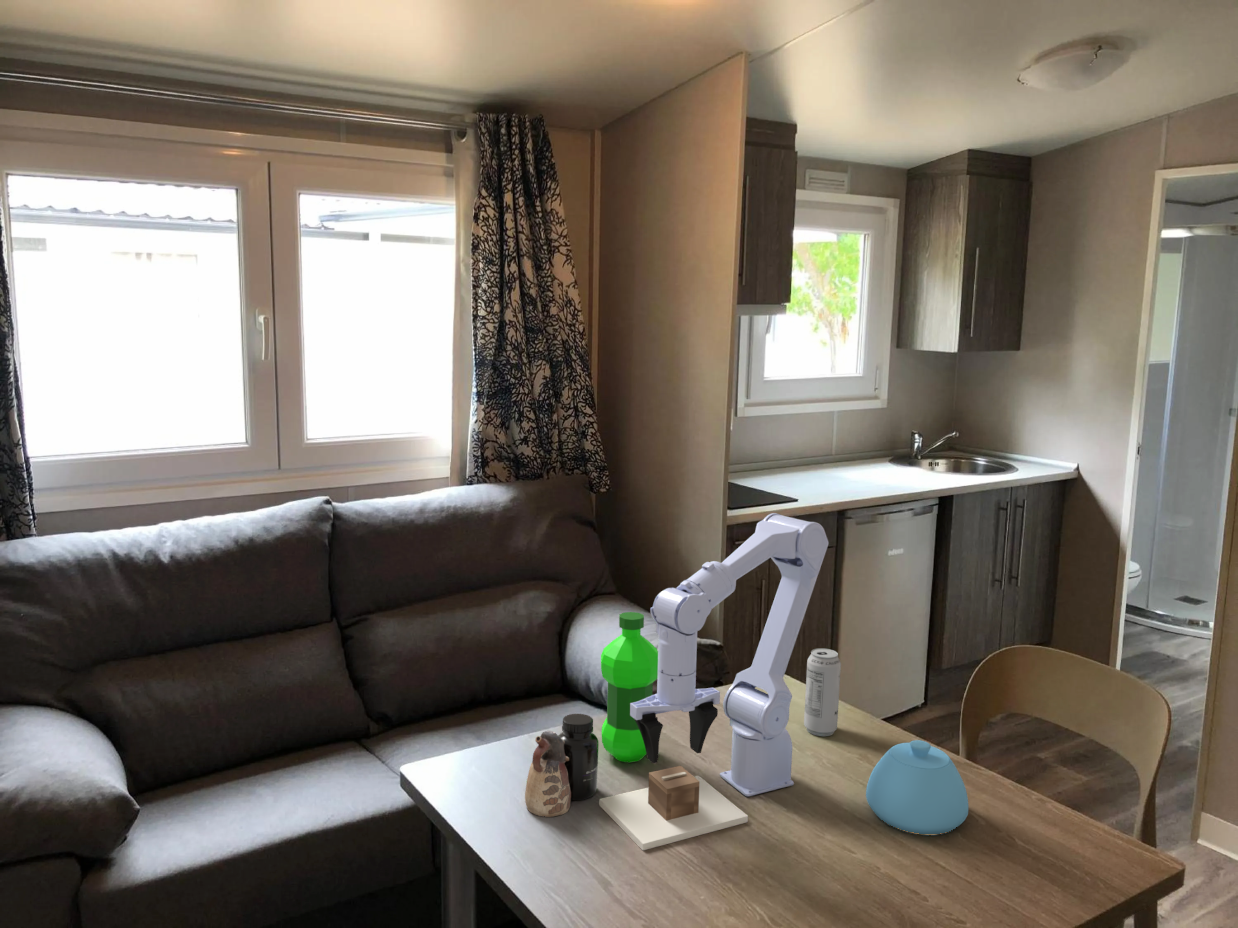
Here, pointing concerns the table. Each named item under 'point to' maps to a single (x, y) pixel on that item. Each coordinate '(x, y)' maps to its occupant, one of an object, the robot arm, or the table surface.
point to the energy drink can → (822, 692)
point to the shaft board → (656, 831)
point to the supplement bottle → (580, 755)
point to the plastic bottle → (627, 686)
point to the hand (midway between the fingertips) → (674, 755)
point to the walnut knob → (673, 792)
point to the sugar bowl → (917, 789)
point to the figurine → (548, 778)
